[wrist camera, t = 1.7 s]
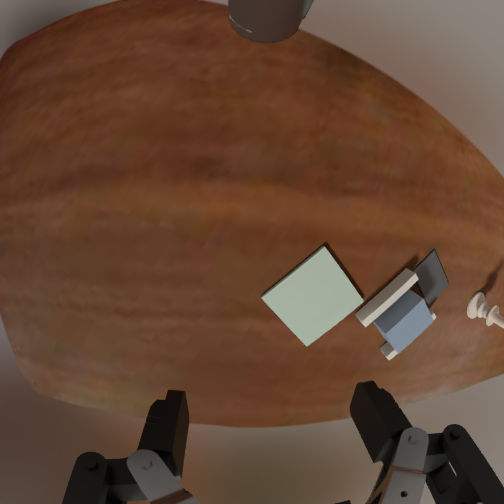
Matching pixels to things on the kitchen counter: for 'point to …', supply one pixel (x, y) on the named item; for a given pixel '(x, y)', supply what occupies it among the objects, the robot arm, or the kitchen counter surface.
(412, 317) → the block
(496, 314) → the white ringed tapered column
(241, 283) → the kitchen counter surface
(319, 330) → the tile
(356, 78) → the kitchen counter surface
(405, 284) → the channel
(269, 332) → the kitchen counter surface
